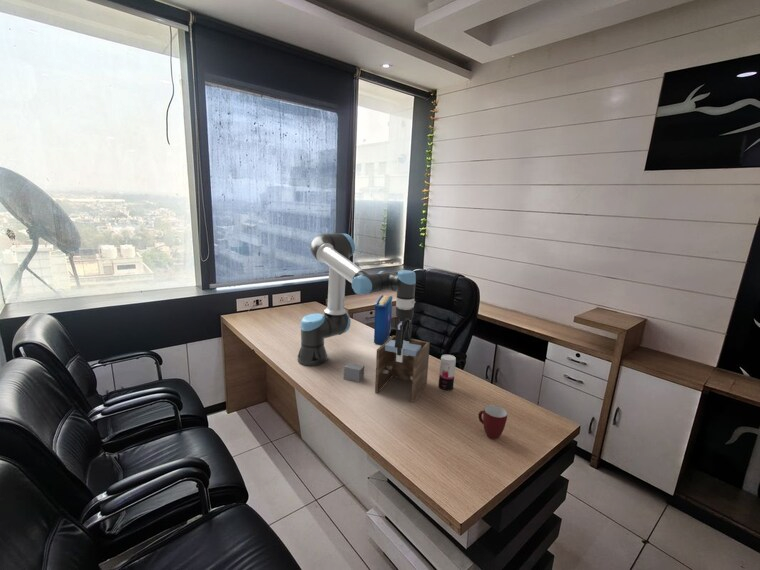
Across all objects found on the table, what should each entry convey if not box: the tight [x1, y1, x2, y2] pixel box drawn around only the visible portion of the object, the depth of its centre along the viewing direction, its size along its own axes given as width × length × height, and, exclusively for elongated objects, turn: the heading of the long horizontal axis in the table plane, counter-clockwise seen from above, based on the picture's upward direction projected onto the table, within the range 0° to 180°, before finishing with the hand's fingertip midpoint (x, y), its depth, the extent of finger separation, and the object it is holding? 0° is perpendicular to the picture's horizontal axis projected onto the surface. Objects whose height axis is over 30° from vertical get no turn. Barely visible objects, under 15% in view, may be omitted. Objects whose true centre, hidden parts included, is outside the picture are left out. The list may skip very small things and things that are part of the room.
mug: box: [477, 404, 508, 440], centre depth 129 cm, size 10×8×10 cm
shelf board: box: [385, 340, 421, 356], centre depth 154 cm, size 14×7×2 cm, turn 67°
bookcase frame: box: [374, 335, 431, 404], centre depth 158 cm, size 18×19×20 cm
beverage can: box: [438, 354, 457, 392], centre depth 160 cm, size 6×7×15 cm
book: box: [373, 294, 393, 345], centre depth 215 cm, size 22×7×25 cm, turn 168°
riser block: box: [343, 362, 365, 383], centre depth 166 cm, size 8×5×6 cm, turn 67°
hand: (402, 358), depth 155 cm, fingers closed on shelf board, 7 cm apart
